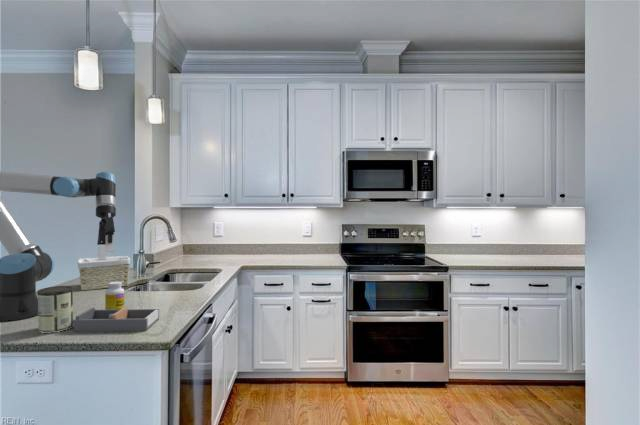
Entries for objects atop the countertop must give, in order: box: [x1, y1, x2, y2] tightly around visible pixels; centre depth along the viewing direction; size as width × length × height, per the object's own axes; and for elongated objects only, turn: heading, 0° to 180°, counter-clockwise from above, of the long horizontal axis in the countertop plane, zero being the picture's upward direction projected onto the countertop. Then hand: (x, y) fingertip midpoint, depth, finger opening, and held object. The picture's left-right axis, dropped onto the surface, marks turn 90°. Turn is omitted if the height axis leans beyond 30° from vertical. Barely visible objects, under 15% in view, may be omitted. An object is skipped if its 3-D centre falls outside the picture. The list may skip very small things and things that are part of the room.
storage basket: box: [77, 255, 131, 291], centre depth 205 cm, size 24×16×15 cm
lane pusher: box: [109, 306, 129, 319], centre depth 140 cm, size 4×10×4 cm, turn 4°
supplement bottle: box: [104, 282, 125, 310], centre depth 153 cm, size 7×7×13 cm
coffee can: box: [36, 285, 74, 334], centre depth 136 cm, size 10×10×14 cm
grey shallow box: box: [73, 307, 160, 333], centre depth 141 cm, size 24×13×5 cm, turn 94°
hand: (105, 255), depth 161 cm, fingers open, 13 cm apart
